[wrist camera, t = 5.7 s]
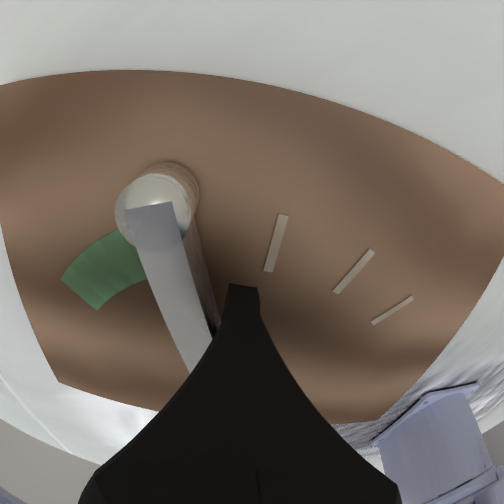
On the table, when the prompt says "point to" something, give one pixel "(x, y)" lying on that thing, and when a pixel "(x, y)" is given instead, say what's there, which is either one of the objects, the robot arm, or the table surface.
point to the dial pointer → (171, 253)
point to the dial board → (242, 231)
